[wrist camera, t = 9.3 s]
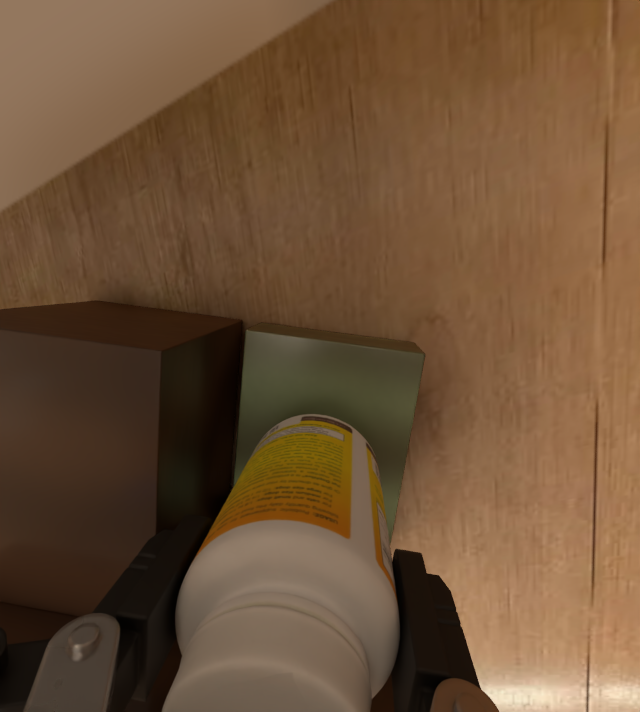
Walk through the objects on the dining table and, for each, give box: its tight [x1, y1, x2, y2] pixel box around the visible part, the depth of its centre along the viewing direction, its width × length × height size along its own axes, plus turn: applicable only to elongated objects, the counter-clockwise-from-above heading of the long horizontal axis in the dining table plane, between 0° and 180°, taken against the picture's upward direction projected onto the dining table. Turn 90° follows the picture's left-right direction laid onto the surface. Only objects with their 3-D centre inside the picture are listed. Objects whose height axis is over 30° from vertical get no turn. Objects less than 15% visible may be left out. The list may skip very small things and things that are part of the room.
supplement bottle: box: [162, 414, 400, 712], centre depth 12 cm, size 6×6×10 cm
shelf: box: [0, 301, 425, 712], centre depth 16 cm, size 12×18×12 cm, turn 83°
